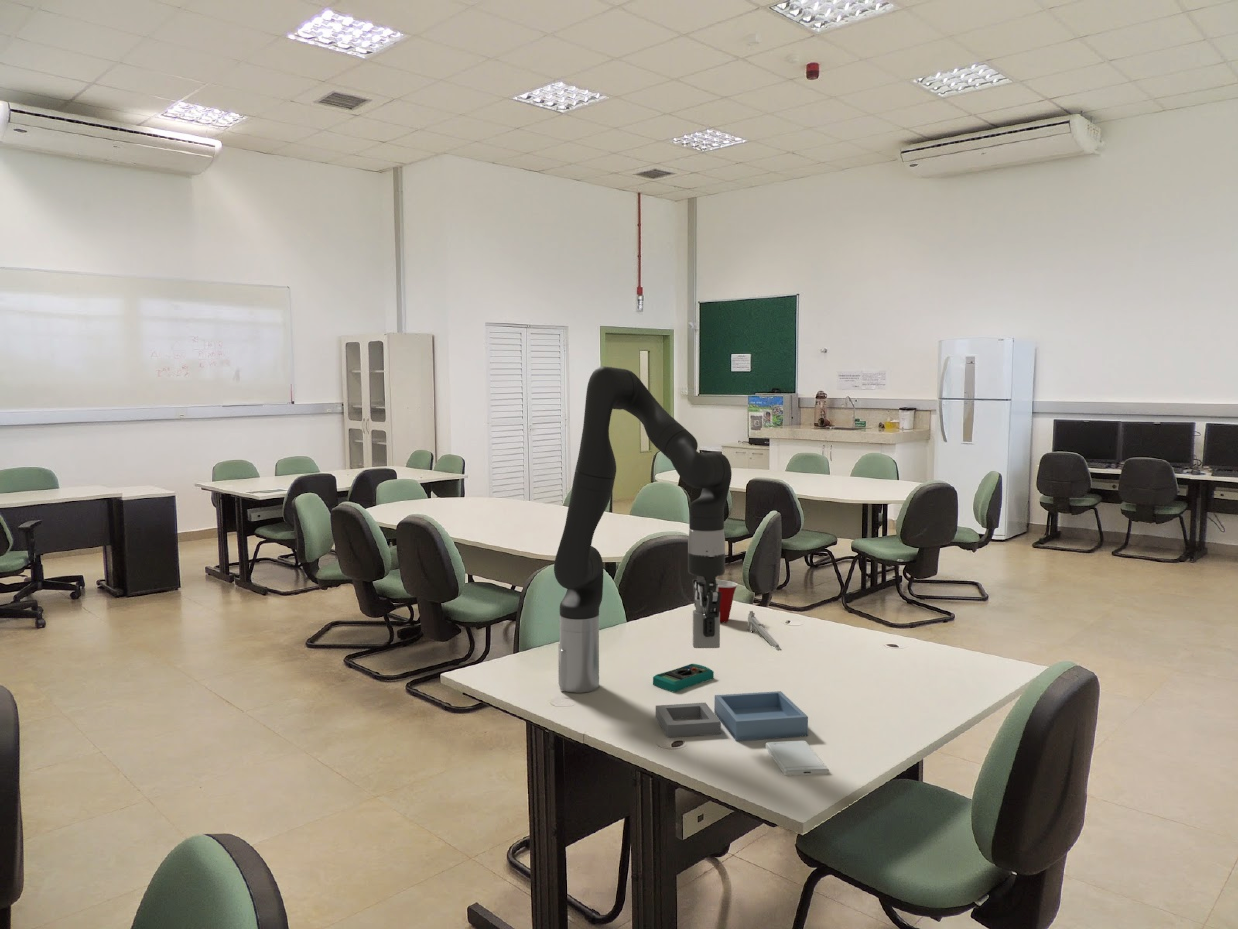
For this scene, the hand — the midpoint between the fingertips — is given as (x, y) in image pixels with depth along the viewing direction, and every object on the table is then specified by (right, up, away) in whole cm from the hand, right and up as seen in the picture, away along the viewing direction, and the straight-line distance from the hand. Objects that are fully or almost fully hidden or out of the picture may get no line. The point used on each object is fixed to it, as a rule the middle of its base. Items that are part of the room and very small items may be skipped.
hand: (706, 633), depth 174 cm
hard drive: (+15, -22, -15) cm, 30 cm away
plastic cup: (+13, -13, +85) cm, 87 cm away
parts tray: (+11, -19, +2) cm, 23 cm away
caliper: (+23, -15, +64) cm, 70 cm away
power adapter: (0, -3, 0) cm, 3 cm away
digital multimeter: (-3, -18, +29) cm, 34 cm away
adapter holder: (-4, -19, +2) cm, 20 cm away
